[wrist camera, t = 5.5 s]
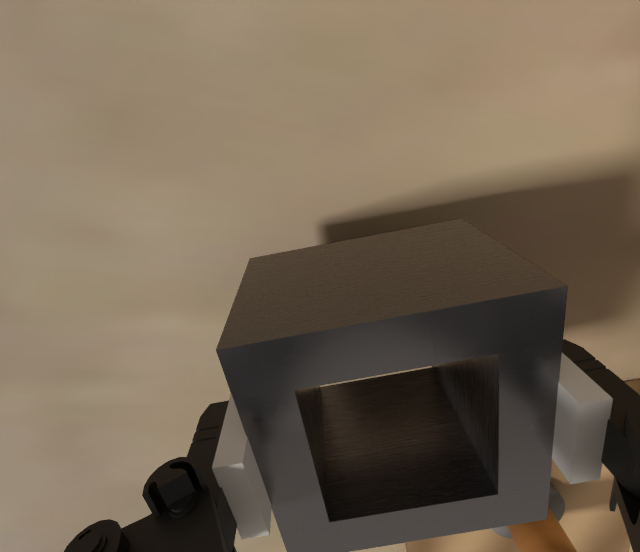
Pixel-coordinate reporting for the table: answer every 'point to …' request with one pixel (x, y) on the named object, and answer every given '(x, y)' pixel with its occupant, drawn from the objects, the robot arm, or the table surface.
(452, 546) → the keeper
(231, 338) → the hollow square block
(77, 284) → the table surface
